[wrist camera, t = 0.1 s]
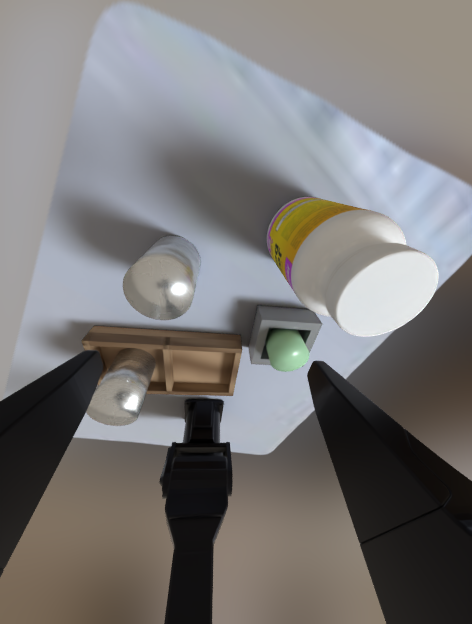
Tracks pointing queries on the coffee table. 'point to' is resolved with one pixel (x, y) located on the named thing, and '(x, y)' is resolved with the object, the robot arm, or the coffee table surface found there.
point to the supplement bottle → (350, 265)
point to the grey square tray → (283, 319)
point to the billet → (163, 279)
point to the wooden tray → (175, 358)
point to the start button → (286, 349)
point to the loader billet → (123, 388)
